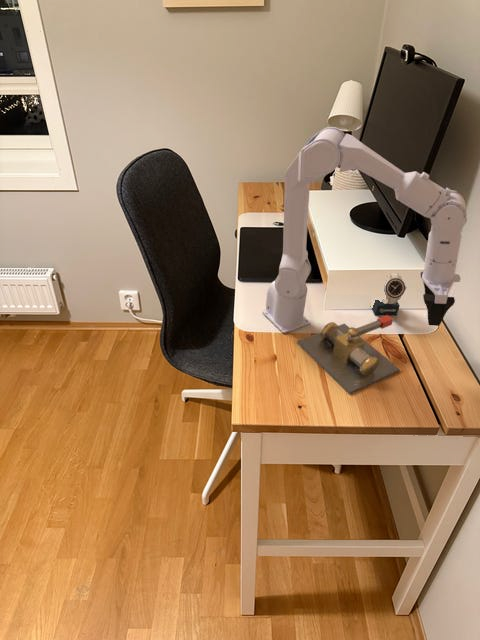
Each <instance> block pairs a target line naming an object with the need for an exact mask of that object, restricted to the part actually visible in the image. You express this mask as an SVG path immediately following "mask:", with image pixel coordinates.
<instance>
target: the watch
mask: <svg viewBox="0 0 480 640" xmlns="http://www.w3.org/2000/svg"><path fill="white" fill-rule="evenodd" d="M406 290H407V286H406V283H405V281H404V280H403V278H402V275H400V274H399V272H398V273H395V274H394V273H393V274H389V276H387V280H386V283H385V285H384V292H385V295H386V300H384V299H383V300H382V302H380V301H379V300H375V303H374V305H373V308H371V311H372V313H373V315H374V317H375V316H377V317H379V316H380V317H383V316H386V315H388V316H390V317H392V316H393V317H397V315H398V312H399V309H400V303H399V301H400V299H401V297H402V296H403V295H404V293H405V291H406Z"/></svg>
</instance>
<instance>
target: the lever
mask: <svg viewBox="0 0 480 640" xmlns="http://www.w3.org/2000/svg"><path fill="white" fill-rule="evenodd" d="M393 322H394V318H392V316H388V315H386V316H380V317H379V318H377V319H376V320H375V321H372V322H370V323H367V324H364V325H362V326H359V327H357V328H356V327H349V329H348V334H349V335H348V341H351V342H352V341H354V338H355V337H358V336H360V337H361V336H362V335H365V334H367V333H370V332H372V331H376V330H377V329H381V330H383V329H384V328H387V327H389V326H392V325H393Z"/></svg>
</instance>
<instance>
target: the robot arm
mask: <svg viewBox="0 0 480 640" xmlns="http://www.w3.org/2000/svg"><path fill="white" fill-rule="evenodd" d="M338 166H340V168H339V169H338V170H339V173H342V172H343V173H344V172H348V171H353V170H358V171H360V172H362V173H364V174H366V176H369V177H371V178H373V179H375V180H376V181H378V182H380V183H382V184H383V185H385V186H386V187H387V186H388V187H389V188H391V189H392V190H393V191H394V195H395V199H396V200H397V201H399V202H400V203H402V204H403V205H405V206H406V207H408V208H410V209H411V210H413V211H415V212H416V213H418V214H419V215H421V216H422V217H425V218H429V220H430V223H431V228H430V231H429V232H428V240H427V246H426V251H425V252H426V254H425V259H424V268H423V271H421V272H420V279H421V281H422V283H423V286H424V293H423V302H424V304H425V306H426V309H427V323H428V325H429V326H437V327H438V326H440V325H441V323H442V321H443V319H444V318H445V315H446V313H448V310H449V309H451V308H452V307H453V306H454V305H455V302H456V299H455V296H448V295H449V292H450V290H451V289H452V287H453V285H454V284H455V283H459V282H461V279H462V278H461V275H460V274H457V273H456V269H457V263H458V259H459V252H460V246H461V241H462V232H463V228H464V227H465V225H466V224H467V221H468V218H467V217H468V215H467V207H466V201H465V199H464V197H463V196H462V195H461V194H460V193H459V192H458V191H457V190H455V189H454V190H452V189H451V188H449V187H446V188H444V187H443V186H440V185H439V184H437V183H435V182H434V181H433V180H431V179H430V175H429V174H428V173H427V172H425V171H423V172H422V173H419V172H418V171H415V170H414V171H409V172H404V171H403V170H402V169H400V168H399V167H397V166H395V165H394V164H393V163H391V162H389V161H388V160H387V159H385V158H384V157H382V155H380V154H378V153H377V152H376V151H375V150H372V149H371V148H370V147H369V146H367V145H365V143H362V141H360V140H359V139H357V138H356V137H355V136H353V135H351V134H349V133H345V132H344V131H343V130H341V129H340V128H338V127H334V126H328V127H325V128H322V129H321V130H320V131H318V132H317V133H316V134H314V135H313V136H311V138H309V140H308V141H307V142H306V144H305V145H304V146H303V147H302V148H301V150H300V151H299V153H298V154H297V155H296V157H295V158H294V159H293V160H292V162H291V163H290V165H289V166H288V168H287V169H286V170H285V174H284V200H283V238H282V240H283V242H282V243H283V244H282V255H281V261H280V264H279V268H278V275H277V277H276V278H275V280H273V281H272V282H271V283H270V284H269V286H268V288H267V291H266V301H265V309H264V310H262V312H261V313H262V314H263V315H264V316H265V317H266V318H267V319H268V320H269V321H270V322H271V323H272V324H273V325H274V326H275V327H276V328H277V329H278V330H280V332H281V333H283V334H285V333H289V332H291V331H295V330H297V329H300V328H303V327H305V326H309V325H310V324H311V321H310V320H309V319H307V318H306V316H305V315H304V313H305V307H306V303H307V302H306V301H307V295H308V287H307V284H306V281H307V279H308V277H309V276H310V274H311V272H312V266H311V265H312V264H311V263H310V261H309V258H308V255H309V253H308V250H307V239H308V238H307V237H308V236H307V235H308V223H309V222H308V220H309V207H310V206H309V204H310V189H311V188H310V187H311V182H312V181H315V179H316V178H319V177H323V176H326V175H328V174H330V173H332V172H334V171H335V170H336V169H337V168H338Z"/></svg>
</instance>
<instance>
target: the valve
mask: <svg viewBox="0 0 480 640" xmlns="http://www.w3.org/2000/svg"><path fill="white" fill-rule="evenodd" d="M349 328H350V327H349V326H348V325H347V324H346V323H342V324H340V325H338V324H337V323H336V322H334V321H332V322H328V323H327V324H326V325H325V326H324V327H323V328H322V329H321V332H317V333H315V334H312V335H310V336H307V337H304V338H301V339H299V340H296V342H297V345H298V346H300V347H301V349H303V351H304V352H305V353H306V354H307V355H308V356H310V358H312V359H313V360H314V362H316V363H317V365H319V366H320V367H321V368H322V369H323V370H324V371H325V372H326V373H327V374H328V375H329V376H330V377H331V378H332V379H333V380H334V381H335V382H336V383H337V384H338V385H339V386H340V387H341V388H343V389H344V390H345V391H346V392H347V394H349V395H351V394H354V393H355V392H357V391H360V390H362V389H364V388H366V387H369V386H371V385H373V384H375V383H378V382H380V381H382V380H384V379H386V378H388V377H390V376H392V375H395V374H398V373H399V372H400V371H401V369H400V368H399V367H398V366H397V365H396V364H394V363H393V362H392V361H390V359H388V358H387V357H386V356H384V355H383V354H382V353H381V352H379V351H378V349H376V348H374V347H373V345H372V344H370V343H369V342H368V341H366V340H365V339H364V338H363V337H361V335H360V336H358V337H355V338H354V341H352V342H351V341H348V335H349V334H348V329H349Z"/></svg>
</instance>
